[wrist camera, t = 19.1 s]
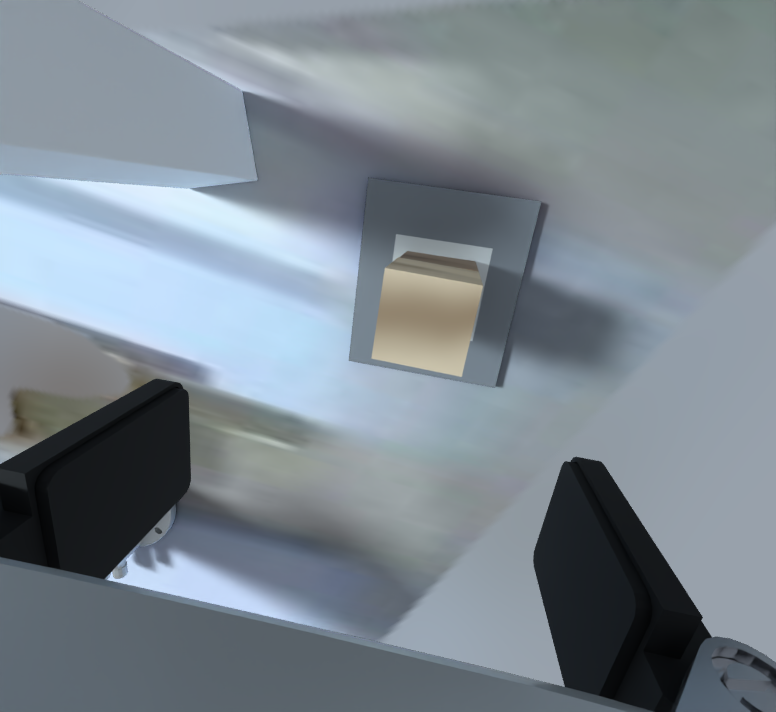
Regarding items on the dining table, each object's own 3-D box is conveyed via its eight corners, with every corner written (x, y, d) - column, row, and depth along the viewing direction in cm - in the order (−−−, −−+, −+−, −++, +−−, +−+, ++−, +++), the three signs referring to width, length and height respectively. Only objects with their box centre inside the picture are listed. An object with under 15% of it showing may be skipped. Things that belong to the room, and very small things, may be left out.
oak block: (461, 347, 27) (461, 376, 22) (386, 333, 27) (371, 358, 23) (478, 271, 25) (483, 285, 20) (398, 257, 26) (384, 267, 21)
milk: (259, 180, 31) (-127, 132, 10) (186, 189, 32) (-292, 159, 12) (242, 87, 29) (-274, -199, 8) (166, 99, 30) (-458, -129, 10)
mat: (494, 384, 33) (494, 388, 33) (350, 358, 34) (348, 360, 34) (539, 201, 28) (541, 201, 28) (370, 178, 30) (368, 177, 29)
